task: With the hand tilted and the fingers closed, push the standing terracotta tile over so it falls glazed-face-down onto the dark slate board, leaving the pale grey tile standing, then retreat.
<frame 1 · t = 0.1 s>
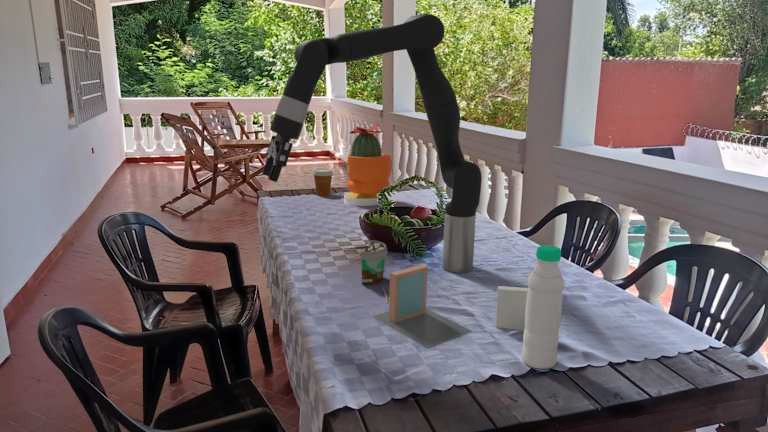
hand: (269, 177, 143), 31 cm above the table, tool tilted 20°, fingers open, 8 cm apart
water bottle: (538, 362, 117), on the table
grey tile: (512, 328, 132), on the table
disposable coffee cup: (323, 195, 270), on the table
food container: (376, 280, 162), on the table
slate board: (421, 325, 133), on the table
potted cactus: (369, 202, 257), on the table
tweezers: (386, 294, 153), on the table
terracotta tile: (407, 316, 137), resting on slate board
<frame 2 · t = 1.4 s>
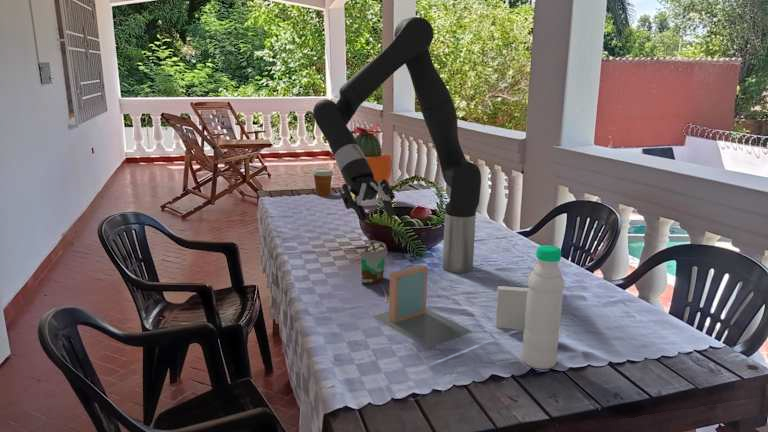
hand: (379, 218, 140), 23 cm above the table, tool tilted 45°, fingers open, 8 cm apart
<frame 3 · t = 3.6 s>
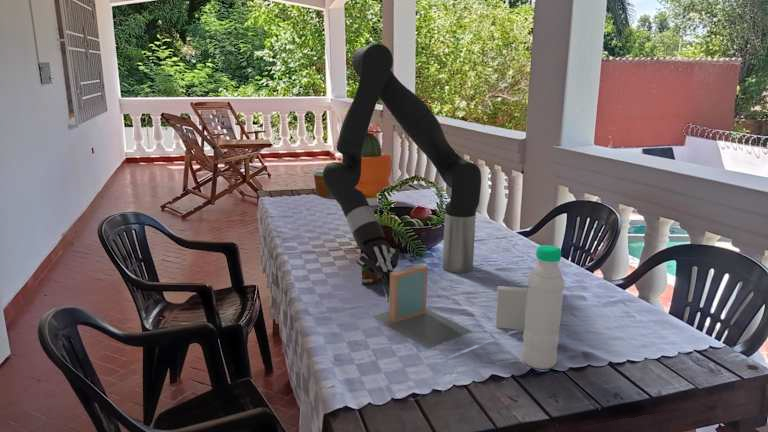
hand: (392, 286, 139), 6 cm above the table, tool tilted 45°, fingers closed
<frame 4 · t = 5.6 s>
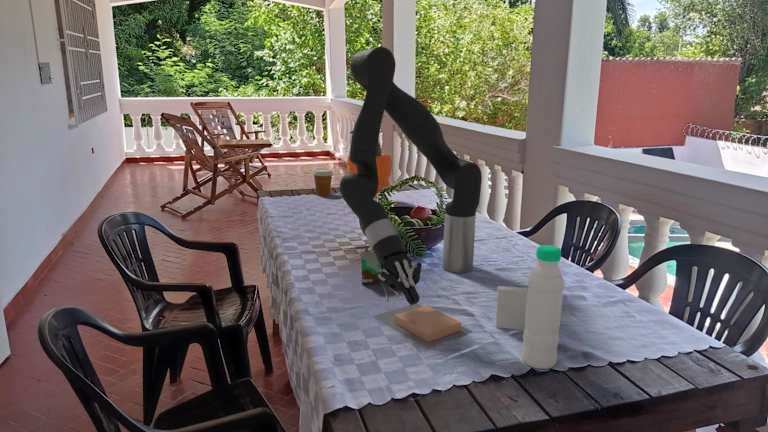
hand: (415, 303, 133), 5 cm above the table, tool tilted 45°, fingers closed
terracotta tile: (410, 313, 136), point 1 cm above the table, tilted 90°, touching slate board
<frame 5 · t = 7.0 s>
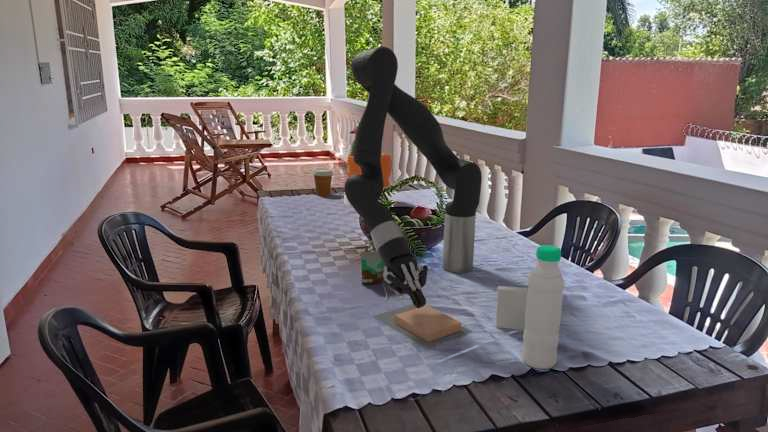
hand: (422, 306, 132), 5 cm above the table, tool tilted 45°, fingers closed
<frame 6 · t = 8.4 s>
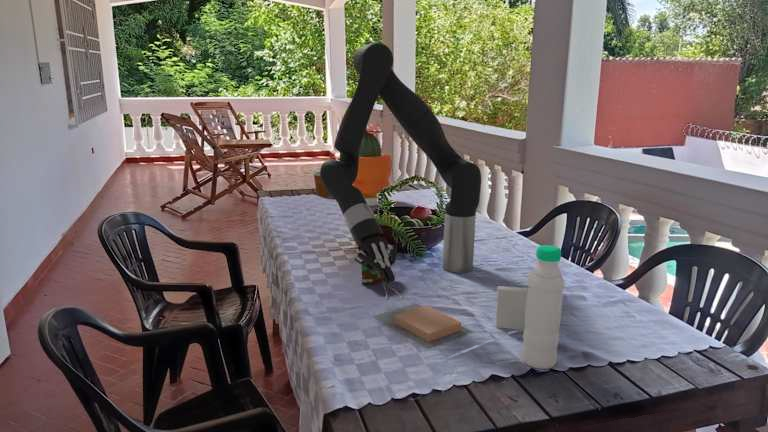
hand: (391, 282, 140), 7 cm above the table, tool tilted 45°, fingers closed
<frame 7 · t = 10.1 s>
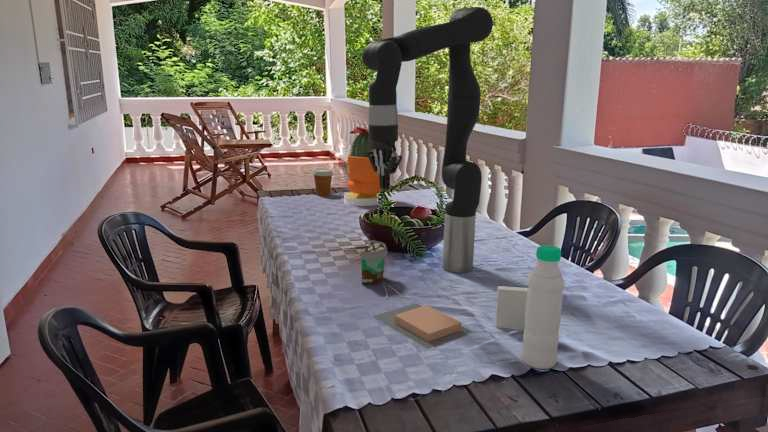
hand: (384, 188, 148), 28 cm above the table, tool pointing down, fingers closed
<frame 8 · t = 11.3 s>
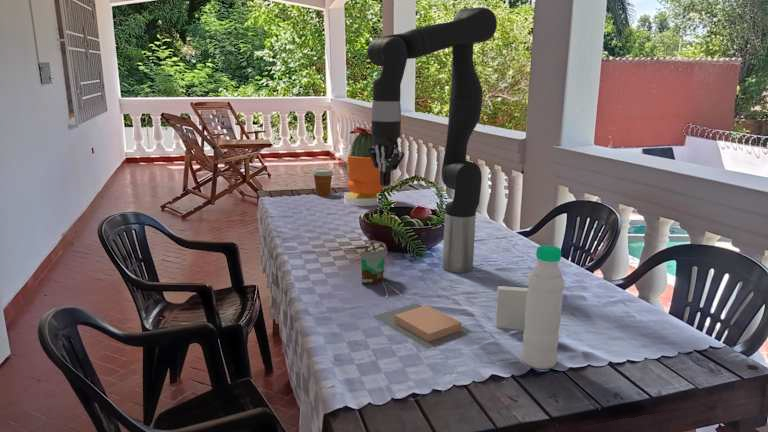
hand: (385, 185, 148), 29 cm above the table, tool pointing down, fingers closed
at the end: terracotta tile tilted 90°; terracotta tile 3.8 cm from the slate board (horizontally); grey tile tilted 0° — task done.
